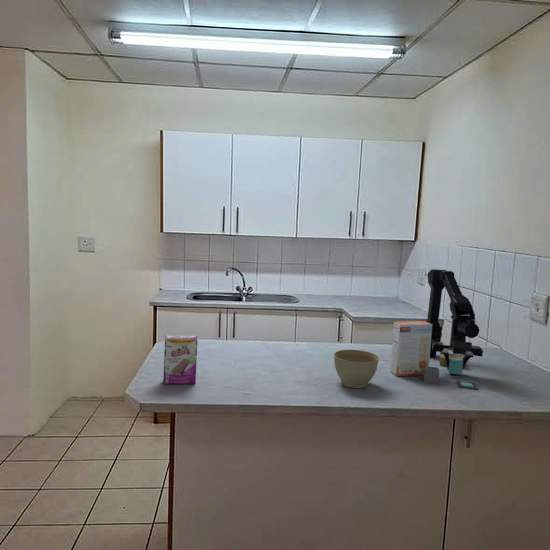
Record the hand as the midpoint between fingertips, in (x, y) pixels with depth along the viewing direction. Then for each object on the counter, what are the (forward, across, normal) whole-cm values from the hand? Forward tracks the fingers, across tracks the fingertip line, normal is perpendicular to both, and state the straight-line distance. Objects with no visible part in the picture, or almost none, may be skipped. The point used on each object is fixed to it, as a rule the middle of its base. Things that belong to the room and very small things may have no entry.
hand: (454, 369), depth 201 cm
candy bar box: (+2, -97, -50) cm, 109 cm away
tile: (+2, +3, -13) cm, 13 cm away
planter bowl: (+2, -38, -28) cm, 47 cm away
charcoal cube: (+2, -10, -13) cm, 17 cm away
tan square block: (+2, 0, +14) cm, 14 cm away
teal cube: (+1, 0, 0) cm, 1 cm away
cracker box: (+2, -18, -7) cm, 19 cm away
